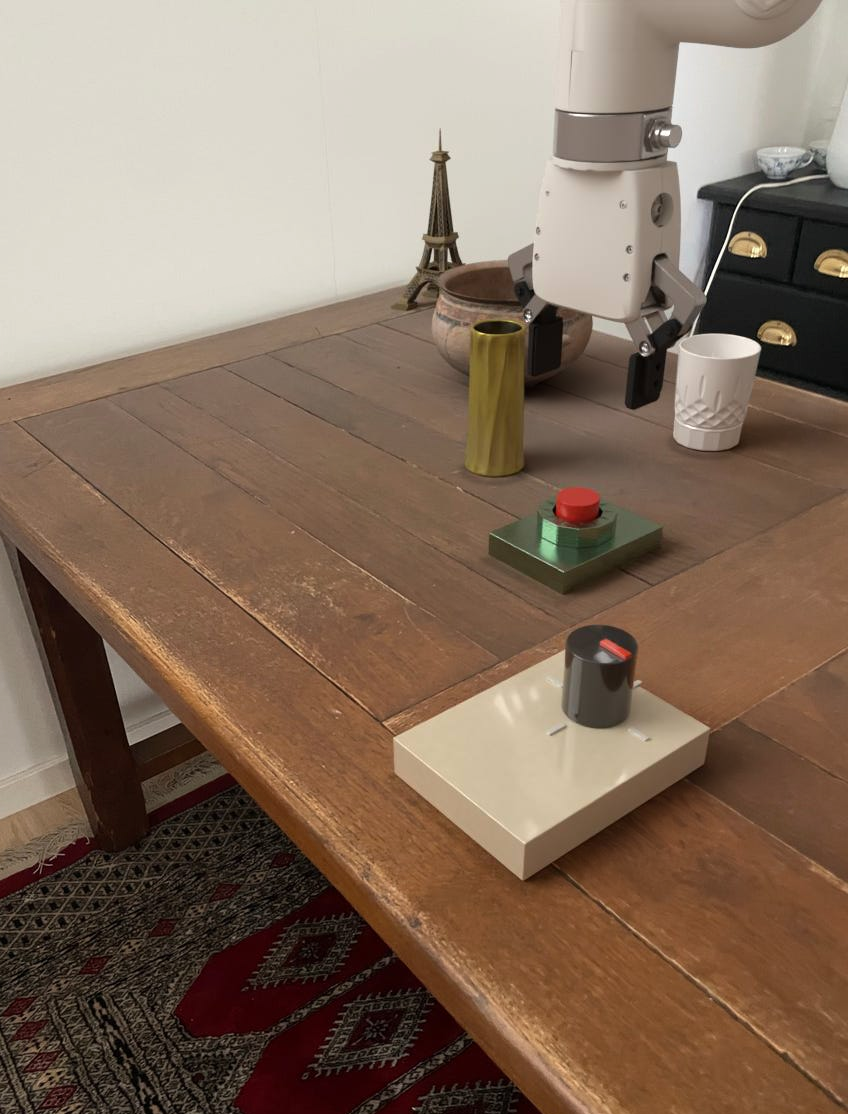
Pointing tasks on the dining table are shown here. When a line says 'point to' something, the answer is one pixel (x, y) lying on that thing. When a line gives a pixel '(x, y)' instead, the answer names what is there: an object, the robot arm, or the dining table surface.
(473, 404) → the vase
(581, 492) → the ignition button
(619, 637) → the stove knob
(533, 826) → the beige knob base
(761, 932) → the dining table surface
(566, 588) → the green button box
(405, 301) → the eiffel tower
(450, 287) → the cooking pot
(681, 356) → the white cup
